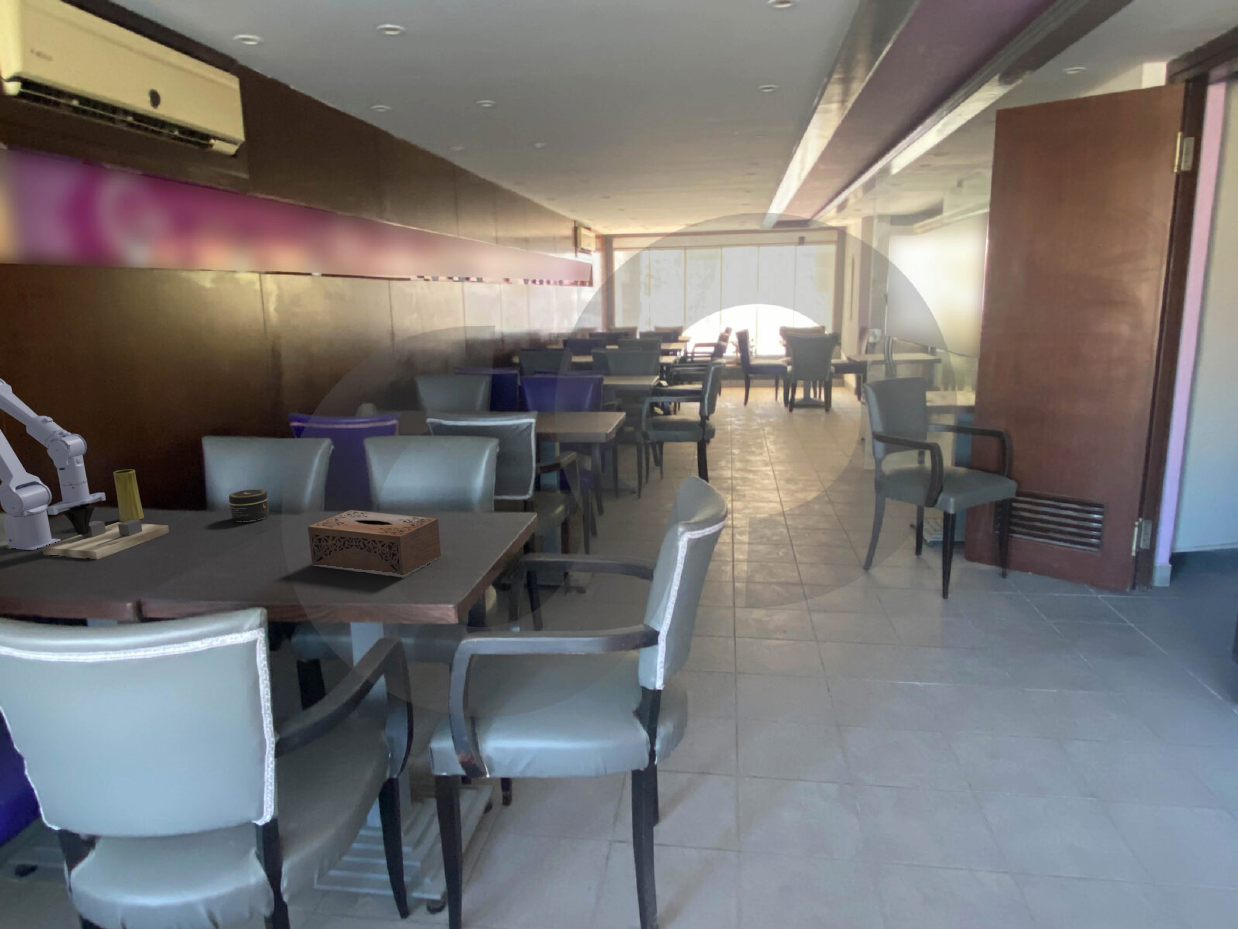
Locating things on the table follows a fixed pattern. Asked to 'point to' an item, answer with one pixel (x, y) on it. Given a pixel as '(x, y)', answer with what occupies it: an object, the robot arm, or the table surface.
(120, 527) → the outer knob
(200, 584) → the table surface
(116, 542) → the wooden board
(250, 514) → the jar
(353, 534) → the tissue box cover
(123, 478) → the vase
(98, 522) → the inner knob
